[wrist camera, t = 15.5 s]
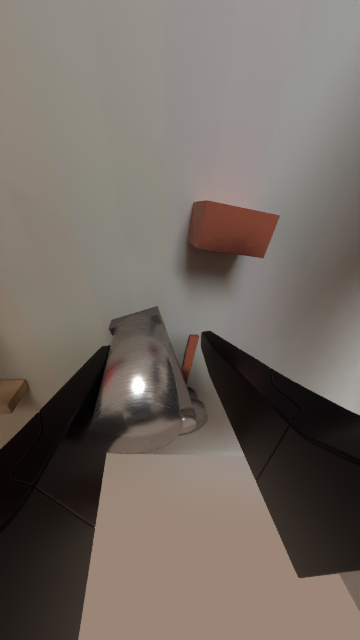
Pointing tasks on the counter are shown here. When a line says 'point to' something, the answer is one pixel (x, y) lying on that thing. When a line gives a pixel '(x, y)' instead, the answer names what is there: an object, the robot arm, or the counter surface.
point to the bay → (11, 394)
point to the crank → (142, 389)
